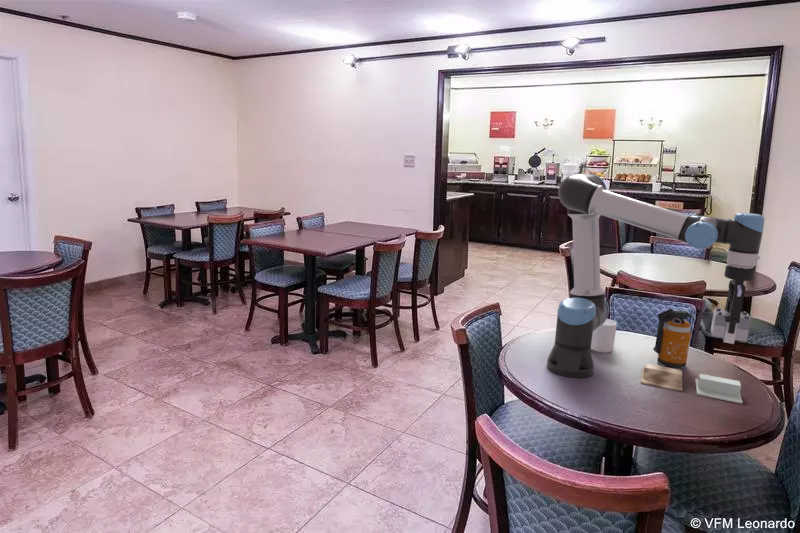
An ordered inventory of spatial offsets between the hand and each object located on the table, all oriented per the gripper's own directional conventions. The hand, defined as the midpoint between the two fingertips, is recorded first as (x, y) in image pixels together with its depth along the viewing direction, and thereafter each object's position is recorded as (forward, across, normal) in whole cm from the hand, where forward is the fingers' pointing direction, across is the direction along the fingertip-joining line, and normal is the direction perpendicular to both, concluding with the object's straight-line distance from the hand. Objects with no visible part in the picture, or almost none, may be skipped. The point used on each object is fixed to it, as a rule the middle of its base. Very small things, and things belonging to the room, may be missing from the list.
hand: (727, 338), depth 165 cm
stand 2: (+17, 0, 0) cm, 17 cm away
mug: (+18, +21, +36) cm, 45 cm away
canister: (+18, +16, +14) cm, 28 cm away
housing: (-1, 0, 0) cm, 1 cm away
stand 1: (+17, 0, +16) cm, 24 cm away
